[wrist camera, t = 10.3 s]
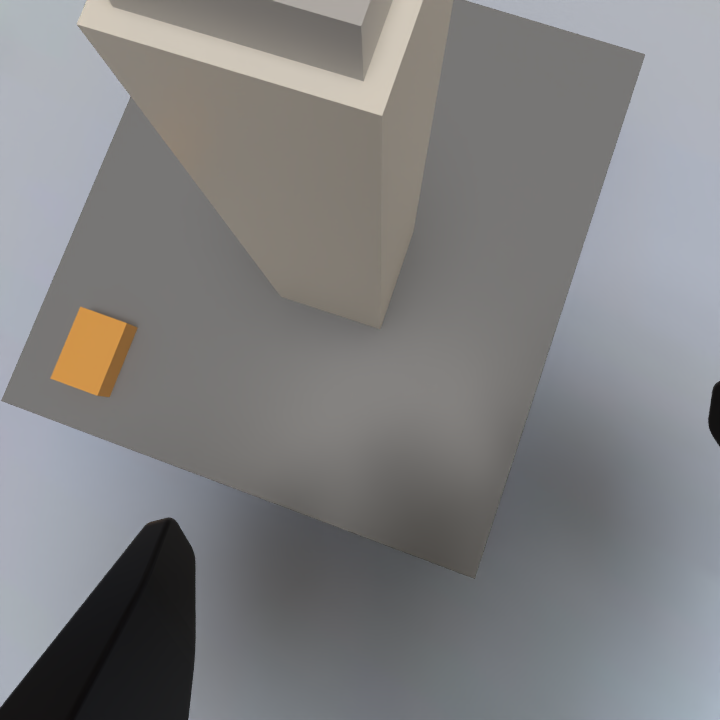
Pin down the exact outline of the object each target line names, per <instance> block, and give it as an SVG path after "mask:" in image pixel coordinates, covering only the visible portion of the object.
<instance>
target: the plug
mask: <svg viewBox="0 0 720 720" xmlns="http://www.w3.org/2000/svg"><path fill="white" fill-rule="evenodd" d="M452 5H453V0H87V1H86V4H85V6H84V8H83V11H82V13H81V15H80V18H79V20H78V22H77V25H78V27H79V28H80V29H81V31H82V32H83V33H84V35H85V36H86V37H87V39H88V40H89V41H90V43H91V44H92V45H93V47H94V48H95V49H96V51H97V52H98V53H99V55H100V56H101V57H102V59H103V60H104V61H105V63H106V64H107V65H108V67H109V68H110V69H111V71H112V72H113V73H114V75H115V76H116V77H117V79H118V80H119V81H120V83H121V84H122V85H123V87H124V88H125V89H126V91H127V92H128V93H129V95H130V96H131V97H132V99H133V100H134V101H135V103H136V104H137V105H138V107H139V108H140V109H141V111H142V112H143V113H144V115H145V116H146V117H147V119H148V120H149V121H150V123H151V124H152V125H153V127H154V128H155V129H156V131H157V132H158V133H159V135H160V136H161V137H162V139H163V140H164V141H165V143H166V144H167V145H168V147H169V148H170V149H171V151H172V152H173V153H174V155H175V156H176V157H177V159H178V160H179V161H180V163H181V164H182V165H183V167H184V168H185V169H186V171H187V172H188V173H189V175H190V176H191V177H192V179H193V180H194V181H195V183H196V184H197V185H198V187H199V188H200V189H201V191H202V192H203V193H204V195H205V196H206V197H207V199H208V200H209V201H210V203H211V204H212V205H213V207H214V208H215V209H216V211H217V212H218V213H219V215H220V216H221V218H222V219H223V220H224V222H225V223H226V224H227V226H228V227H229V228H230V230H231V231H232V232H233V234H234V235H235V236H236V238H237V239H238V240H239V242H240V243H241V244H242V246H243V247H244V248H245V250H246V251H247V252H248V254H249V255H250V256H251V258H252V259H253V260H254V262H255V263H256V264H257V266H258V267H259V268H260V270H261V271H262V272H263V274H264V275H265V276H266V278H267V279H268V280H269V282H270V283H271V284H272V286H273V287H274V288H275V290H276V291H277V292H278V294H279V295H280V296H281V297H283V298H286V299H289V300H292V301H295V302H298V303H302V304H305V305H308V306H311V307H314V308H317V309H320V310H323V311H326V312H329V313H332V314H335V315H338V316H341V317H344V318H347V319H350V320H353V321H356V322H359V323H362V324H365V325H369V326H372V327H375V328H378V329H381V326H382V323H383V320H384V317H385V314H386V311H387V308H388V305H389V302H390V299H391V296H392V293H393V290H394V287H395V284H396V281H397V278H398V275H399V273H400V270H401V267H402V264H403V261H404V258H405V255H406V252H407V249H408V246H409V243H410V240H411V237H412V234H413V231H414V225H415V219H416V213H417V208H418V202H419V196H420V190H421V184H422V179H423V173H424V167H425V161H426V156H427V150H428V144H429V138H430V132H431V127H432V121H433V115H434V109H435V104H436V98H437V92H438V86H439V80H440V75H441V69H442V63H443V57H444V52H445V46H446V40H447V34H448V28H449V23H450V17H451V11H452Z"/></svg>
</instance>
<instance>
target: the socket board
mask: <svg viewBox="0 0 720 720" xmlns="http://www.w3.org/2000/svg"><path fill="white" fill-rule="evenodd" d="M644 57H645V54H642V53H639V52H636V51H632V50H629V49H626V48H622V47H619V46H616V45H612V44H609V43H606V42H602V41H599V40H595V39H592V38H589V37H585V36H582V35H579V34H575V33H572V32H569V31H565V30H562V29H559V28H555V27H552V26H549V25H545V24H542V23H539V22H535V21H532V20H529V19H525V18H522V17H519V16H515V15H512V14H509V13H505V12H502V11H499V10H495V9H492V8H489V7H485V6H482V5H479V4H475V3H472V2H469V1H465V0H453V5H452V11H451V17H450V23H449V28H448V34H447V40H446V46H445V52H444V57H443V63H442V69H441V75H440V80H439V86H438V92H437V98H436V104H435V109H434V115H433V121H432V127H431V132H430V138H429V144H428V150H427V156H426V161H425V167H424V173H423V179H422V184H421V190H420V196H419V202H418V208H417V213H416V219H415V225H414V231H413V234H412V237H411V240H410V243H409V246H408V249H407V252H406V255H405V258H404V261H403V264H402V267H401V270H400V273H399V275H398V278H397V281H396V284H395V287H394V290H393V293H392V296H391V299H390V302H389V305H388V308H387V311H386V314H385V317H384V320H383V323H382V326H381V329H378V328H375V327H372V326H369V325H365V324H362V323H359V322H356V321H353V320H350V319H347V318H344V317H341V316H338V315H335V314H332V313H329V312H326V311H323V310H320V309H317V308H314V307H311V306H308V305H305V304H302V303H298V302H295V301H292V300H289V299H286V298H283V297H281V296H280V295H279V294H278V292H277V291H276V290H275V288H274V287H273V286H272V284H271V283H270V282H269V280H268V279H267V278H266V276H265V275H264V274H263V272H262V271H261V270H260V268H259V267H258V266H257V264H256V263H255V262H254V260H253V259H252V258H251V256H250V255H249V254H248V252H247V251H246V250H245V248H244V247H243V246H242V244H241V243H240V242H239V240H238V239H237V238H236V236H235V235H234V234H233V232H232V231H231V230H230V228H229V227H228V226H227V224H226V223H225V222H224V220H223V219H222V218H221V216H220V215H219V213H218V212H217V211H216V209H215V208H214V207H213V205H212V204H211V203H210V201H209V200H208V199H207V197H206V196H205V195H204V193H203V192H202V191H201V189H200V188H199V187H198V185H197V184H196V183H195V181H194V180H193V179H192V177H191V176H190V175H189V173H188V172H187V171H186V169H185V168H184V167H183V165H182V164H181V163H180V161H179V160H178V159H177V157H176V156H175V155H174V153H173V152H172V151H171V149H170V148H169V147H168V145H167V144H166V143H165V141H164V140H163V139H162V137H161V136H160V135H159V133H158V132H157V131H156V129H155V128H154V127H153V125H152V124H151V123H150V121H149V120H148V119H147V117H146V116H145V115H144V113H143V112H142V111H141V109H140V108H139V107H138V105H137V104H136V103H135V101H134V100H133V99H132V97H130V100H129V102H128V104H127V107H126V109H125V111H124V114H123V116H122V118H121V121H120V123H119V125H118V128H117V130H116V132H115V135H114V137H113V139H112V142H111V144H110V146H109V149H108V151H107V154H106V156H105V158H104V161H103V163H102V165H101V168H100V170H99V172H98V175H97V177H96V179H95V182H94V184H93V186H92V189H91V191H90V193H89V196H88V198H87V201H86V203H85V205H84V208H83V210H82V212H81V215H80V217H79V219H78V222H77V224H76V226H75V229H74V231H73V233H72V236H71V238H70V240H69V243H68V245H67V248H66V250H65V252H64V255H63V257H62V259H61V262H60V264H59V266H58V269H57V271H56V273H55V276H54V278H53V280H52V283H51V285H50V287H49V290H48V292H47V295H46V297H45V299H44V302H43V304H42V306H41V309H40V311H39V313H38V316H37V318H36V320H35V323H34V325H33V327H32V330H31V332H30V334H29V337H28V339H27V342H26V344H25V346H24V349H23V351H22V353H21V356H20V358H19V360H18V363H17V365H16V367H15V370H14V372H13V374H12V377H11V379H10V381H9V384H8V386H7V389H6V391H5V393H4V396H3V398H2V400H1V401H3V402H6V403H8V404H11V405H14V406H16V407H19V408H22V409H24V410H27V411H30V412H32V413H35V414H38V415H40V416H43V417H46V418H48V419H51V420H54V421H56V422H59V423H62V424H64V425H67V426H70V427H72V428H75V429H77V430H80V431H83V432H85V433H88V434H91V435H93V436H96V437H99V438H101V439H104V440H107V441H109V442H112V443H115V444H117V445H120V446H123V447H125V448H128V449H131V450H133V451H136V452H139V453H141V454H144V455H147V456H149V457H152V458H155V459H157V460H160V461H163V462H165V463H168V464H171V465H173V466H176V467H179V468H181V469H184V470H187V471H189V472H192V473H195V474H197V475H200V476H203V477H205V478H208V479H211V480H213V481H216V482H218V483H221V484H224V485H226V486H229V487H232V488H234V489H237V490H240V491H242V492H245V493H248V494H250V495H253V496H256V497H258V498H261V499H264V500H266V501H269V502H272V503H274V504H277V505H280V506H282V507H285V508H288V509H290V510H293V511H296V512H298V513H301V514H304V515H306V516H309V517H312V518H314V519H317V520H320V521H322V522H325V523H328V524H330V525H333V526H336V527H338V528H341V529H344V530H346V531H349V532H352V533H354V534H357V535H359V536H362V537H365V538H367V539H370V540H373V541H375V542H378V543H381V544H383V545H386V546H389V547H391V548H394V549H397V550H399V551H402V552H405V553H407V554H410V555H413V556H415V557H418V558H421V559H423V560H426V561H429V562H431V563H434V564H437V565H439V566H442V567H445V568H447V569H450V570H453V571H455V572H458V573H461V574H463V575H466V576H469V577H471V578H474V579H475V577H476V573H477V570H478V567H479V564H480V561H481V558H482V555H483V552H484V549H485V546H486V543H487V540H488V537H489V533H490V530H491V527H492V524H493V521H494V518H495V515H496V512H497V509H498V506H499V503H500V500H501V497H502V493H503V490H504V487H505V484H506V481H507V478H508V475H509V472H510V469H511V466H512V463H513V460H514V457H515V453H516V450H517V447H518V444H519V441H520V438H521V435H522V432H523V429H524V426H525V423H526V420H527V417H528V413H529V410H530V407H531V404H532V401H533V398H534V395H535V392H536V389H537V386H538V383H539V380H540V377H541V373H542V370H543V367H544V364H545V361H546V358H547V355H548V352H549V349H550V346H551V343H552V340H553V337H554V333H555V330H556V327H557V324H558V321H559V318H560V315H561V312H562V309H563V306H564V303H565V300H566V297H567V293H568V290H569V287H570V284H571V281H572V278H573V275H574V272H575V269H576V266H577V263H578V260H579V257H580V253H581V250H582V247H583V244H584V241H585V238H586V235H587V232H588V229H589V226H590V223H591V220H592V217H593V213H594V210H595V207H596V204H597V201H598V198H599V195H600V192H601V189H602V186H603V183H604V180H605V177H606V173H607V170H608V167H609V164H610V161H611V158H612V155H613V152H614V149H615V146H616V143H617V140H618V137H619V133H620V130H621V127H622V124H623V121H624V118H625V115H626V112H627V109H628V106H629V103H630V100H631V97H632V93H633V90H634V87H635V84H636V81H637V78H638V75H639V72H640V69H641V66H642V63H643V60H644Z"/></svg>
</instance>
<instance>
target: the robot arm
mask: <svg viewBox="0 0 720 720" xmlns="http://www.w3.org/2000/svg"><path fill="white" fill-rule="evenodd" d="M708 424H709V429H710V431H711V434H712V436H713V437H714V439H715V440H716V442H717V443H718V445H719V446H720V381H719V382H717V383H716V384H715V385H714V387H713V391H712V397H711V404H710V411H709V418H708ZM195 639H196V612H195V556H194V552H193V549H192V547H191V545H190V543H189V542H188V540H187V538H186V537H185V535H184V533H183V532H182V530H181V528H180V526H179V525H178V523H177V522H176V520H174V519H173V518H165V519H161V520H157V521H152V522H150V523H148V524H146V525H145V526H144V527H143V529H142V530H141V531H140V532H139V534H138V535H137V536H136V537H135V539H134V540H133V541H132V543H131V544H130V545H129V546H128V548H127V549H126V550H125V551H124V553H123V554H122V555H121V556H120V558H119V559H118V560H117V561H116V563H115V564H114V565H113V566H112V568H111V569H110V570H109V571H108V573H107V574H106V575H105V576H104V578H103V579H102V580H101V581H100V583H99V584H98V585H97V587H96V588H95V589H94V590H93V592H92V593H91V594H90V595H89V597H88V598H87V599H86V600H85V602H84V603H83V604H82V605H81V607H80V608H79V609H78V610H77V612H76V613H75V614H74V615H73V617H72V618H71V619H70V620H69V622H68V623H67V624H66V626H65V627H64V628H63V629H62V631H61V632H60V633H59V634H58V636H57V637H56V638H55V639H54V641H53V642H52V643H51V644H50V646H49V647H48V648H47V649H46V651H45V652H44V653H43V654H42V656H41V657H40V658H39V659H38V661H37V662H36V663H35V664H34V666H33V667H32V668H31V670H30V671H29V672H28V673H27V675H26V676H25V677H24V678H23V680H22V681H21V682H20V683H19V685H18V686H17V687H16V688H15V690H14V691H13V692H12V693H11V695H10V696H9V697H8V698H7V700H6V701H5V702H4V703H3V705H2V706H1V707H0V720H188V717H189V708H190V699H191V690H192V681H193V671H194V660H195Z"/></svg>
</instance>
